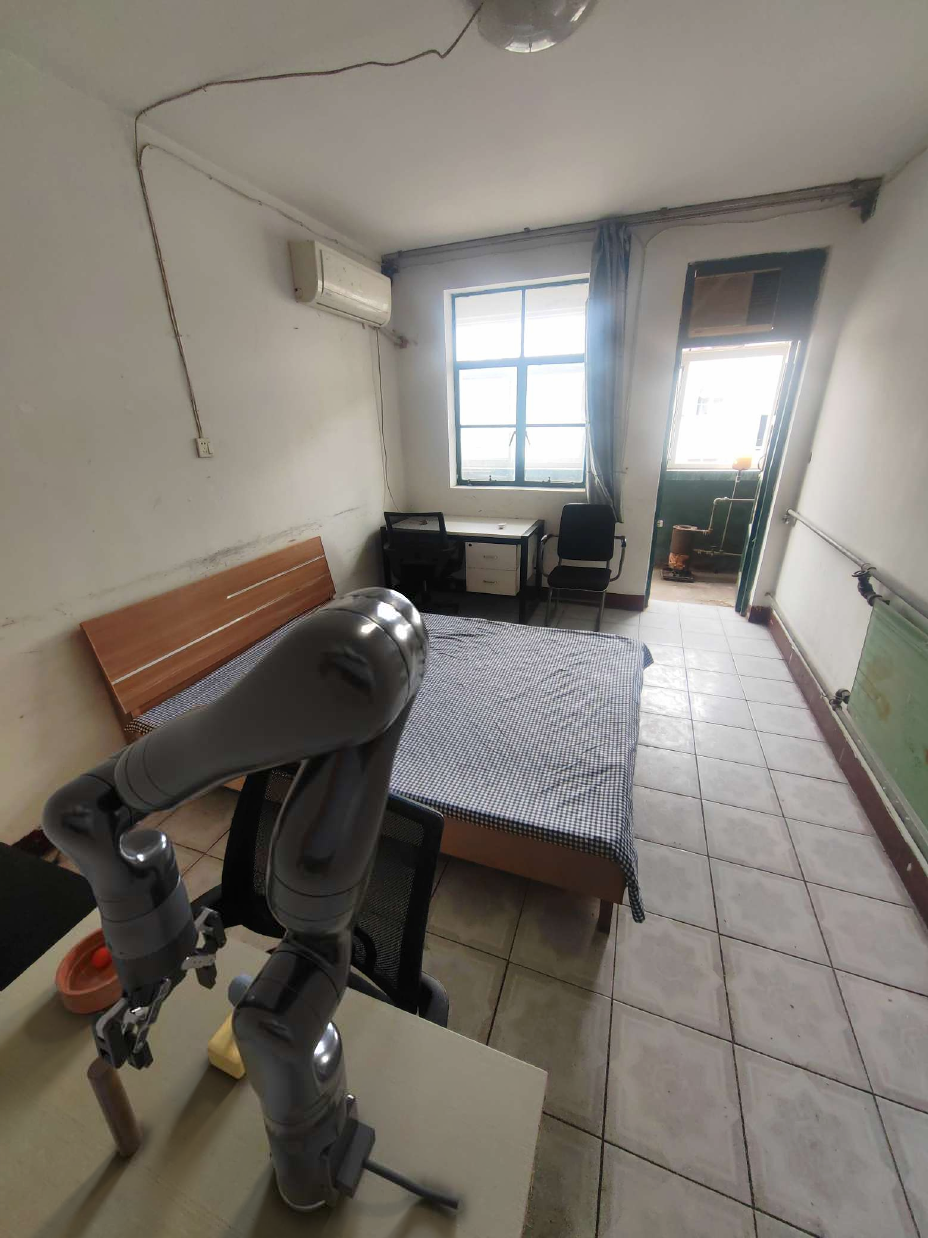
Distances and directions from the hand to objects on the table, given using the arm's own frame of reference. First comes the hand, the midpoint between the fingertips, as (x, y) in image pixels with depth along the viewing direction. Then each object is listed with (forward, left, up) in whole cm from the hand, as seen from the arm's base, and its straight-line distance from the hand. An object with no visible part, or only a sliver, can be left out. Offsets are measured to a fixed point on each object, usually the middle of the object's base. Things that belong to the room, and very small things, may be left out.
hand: (178, 1020), depth 55 cm
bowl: (+30, -8, -20) cm, 37 cm away
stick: (+7, +5, -20) cm, 21 cm away
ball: (+32, -9, -18) cm, 38 cm away
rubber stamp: (+2, -10, -20) cm, 22 cm away
